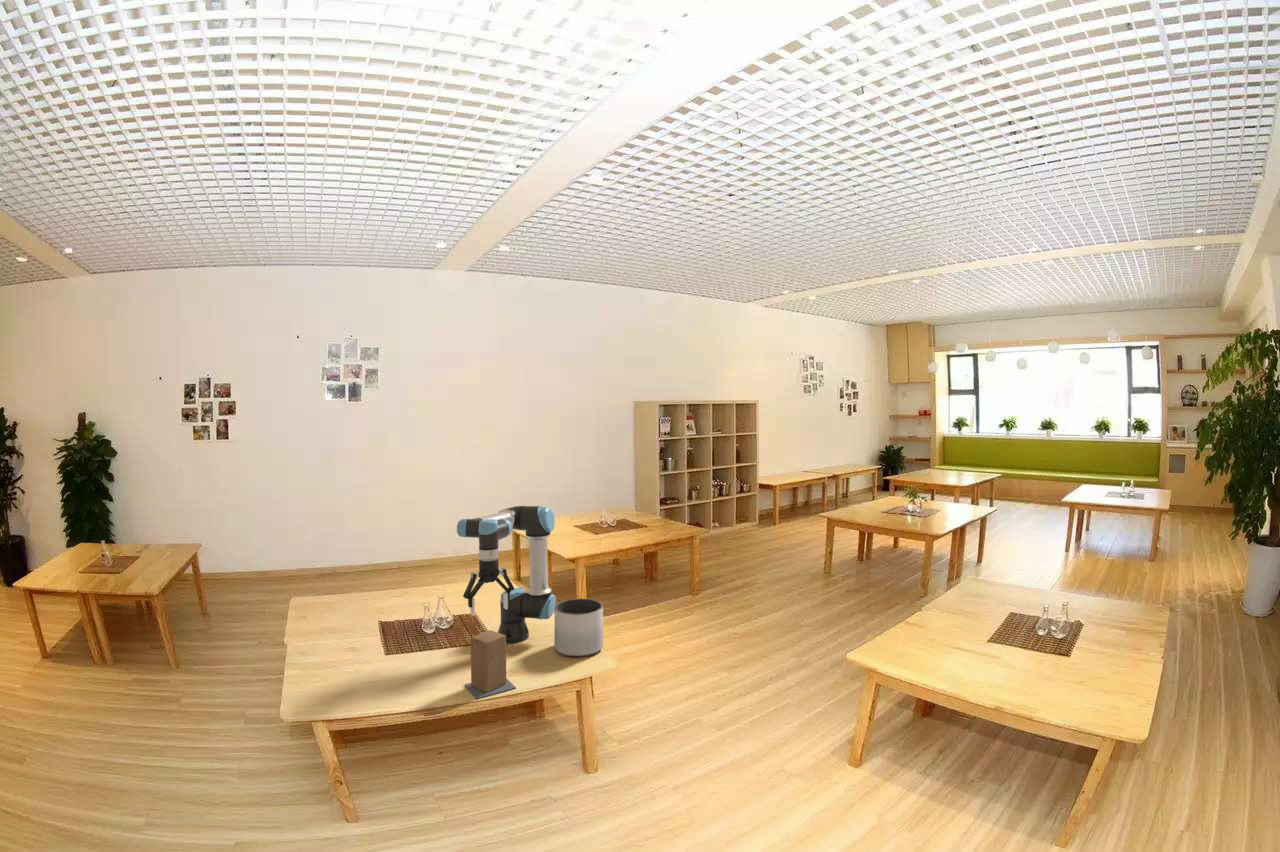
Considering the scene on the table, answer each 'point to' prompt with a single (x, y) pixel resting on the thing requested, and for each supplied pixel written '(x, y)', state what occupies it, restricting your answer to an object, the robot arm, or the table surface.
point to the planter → (578, 627)
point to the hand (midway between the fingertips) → (489, 611)
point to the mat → (481, 694)
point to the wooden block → (488, 661)
